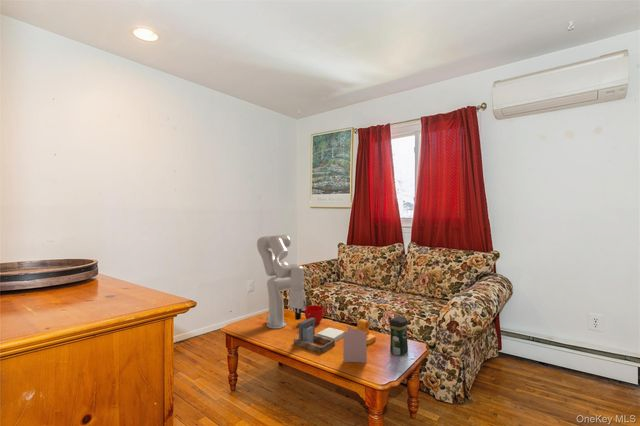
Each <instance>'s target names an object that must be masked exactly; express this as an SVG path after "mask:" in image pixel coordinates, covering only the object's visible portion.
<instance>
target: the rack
mask: <svg viewBox="0 0 640 426" xmlns="http://www.w3.org/2000/svg"><path fill="white" fill-rule="evenodd" d="M292 341H293V345H294V346H298V347H300V348H304V349H306V350H309V351H312V352H315V353H318V354H321V355H322V354H324V353H325V352H326V351H328V350H330V349H332V348H334V347H336V346H335V344H336V343H335V342H336V341H335V340H332V339H328V338H325V337H322V336H318V335H317V334H314V335H313V342H317V343H320V344H324V345H322V346H321V345H318V344H315V343H309V342H306V341H303V340H302V341H300V340H299V338H297V337H294V338H293V340H292Z"/></svg>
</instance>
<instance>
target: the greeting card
mask: <svg viewBox="0 0 640 426" xmlns="http://www.w3.org/2000/svg"><path fill="white" fill-rule="evenodd" d="M342 339H343V342H342V343H343V345H342V346H343V347H342V348H343V350H342V351H343V353H342V354H343V363H344V362H345V363H368V361H367V359H368V355H367V354H368V353H367V349H368V348H367V346H368V345H367V341H366V332H363V331H360V330H357V328H352V327H349V326H347V331H345V332H343V337H342Z"/></svg>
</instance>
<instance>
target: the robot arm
mask: <svg viewBox="0 0 640 426" xmlns="http://www.w3.org/2000/svg"><path fill="white" fill-rule="evenodd" d="M290 246H291V239H290V236H288V235H287V234H281V235H280V234H278V235H266V236H261V237H259V238H257V242H256V247H257V251H258V253H259V255H260V257H261V259H262V262H263V263H262V264H263V266H264V269H265V270H264V271H265V274H266V275H267V276H268V277H271V278H269V279H268V280H266V281H267V282H266V288H267V292H268V293H267V294H268V315H267V316H266V318H265V320H266V321H267V322H266V327H267V328H269V329H273V330H274V329H276V330H277V329H281V328H284V327H285V326H287V321H285V320H284V319H285V317H284V313H285V311H284V296H283V295H282V294H281V292H283V291H285V292H286V291H289V292H288V293H289V294H288V307H290V308H291V309H292V310H293V312H294V316H295V317H294V318H295V320H296V321H299V320H301V319H302V311H304V310H305V307H306V306H307V298H306V297H307V296H306V292H305V289H304V287H305V285H304V282H305V281H304V278H305V277H304V267H303V266H302V265H299V264H297V263H292V264H288V263H287V262H286V261H285V260H284V259H286V258H287V256H288V255H289V251H288V249H287V248H289V247H290ZM270 249H271V250H272V251H271V250H270Z"/></svg>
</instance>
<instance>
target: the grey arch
mask: <svg viewBox="0 0 640 426" xmlns="http://www.w3.org/2000/svg"><path fill="white" fill-rule="evenodd" d="M315 322H316V318H312V317H311V318H309V319H307V320H306V319H304V320H302V321H300V322H298V323H297V327H298V339H299V340H300V341H302V340H303V327H306V326H308V325H309V326H312V327H313V335H314V334H315V333H316V332H315V331H316V330H315V328H316V327H315V326H316V325H315ZM315 335H316V334H315Z"/></svg>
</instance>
